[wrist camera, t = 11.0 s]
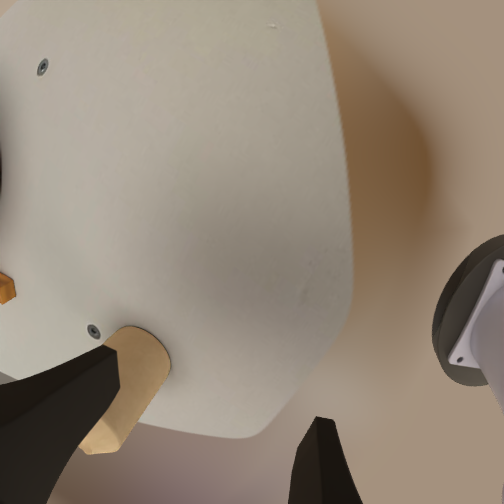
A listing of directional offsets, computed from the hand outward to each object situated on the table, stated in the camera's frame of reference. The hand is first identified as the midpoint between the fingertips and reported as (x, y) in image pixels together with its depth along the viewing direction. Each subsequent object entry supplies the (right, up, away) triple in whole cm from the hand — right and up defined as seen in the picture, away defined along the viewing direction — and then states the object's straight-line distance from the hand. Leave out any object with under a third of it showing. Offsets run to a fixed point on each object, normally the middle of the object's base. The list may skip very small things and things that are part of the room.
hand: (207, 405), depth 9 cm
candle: (-7, -3, +14) cm, 16 cm away
